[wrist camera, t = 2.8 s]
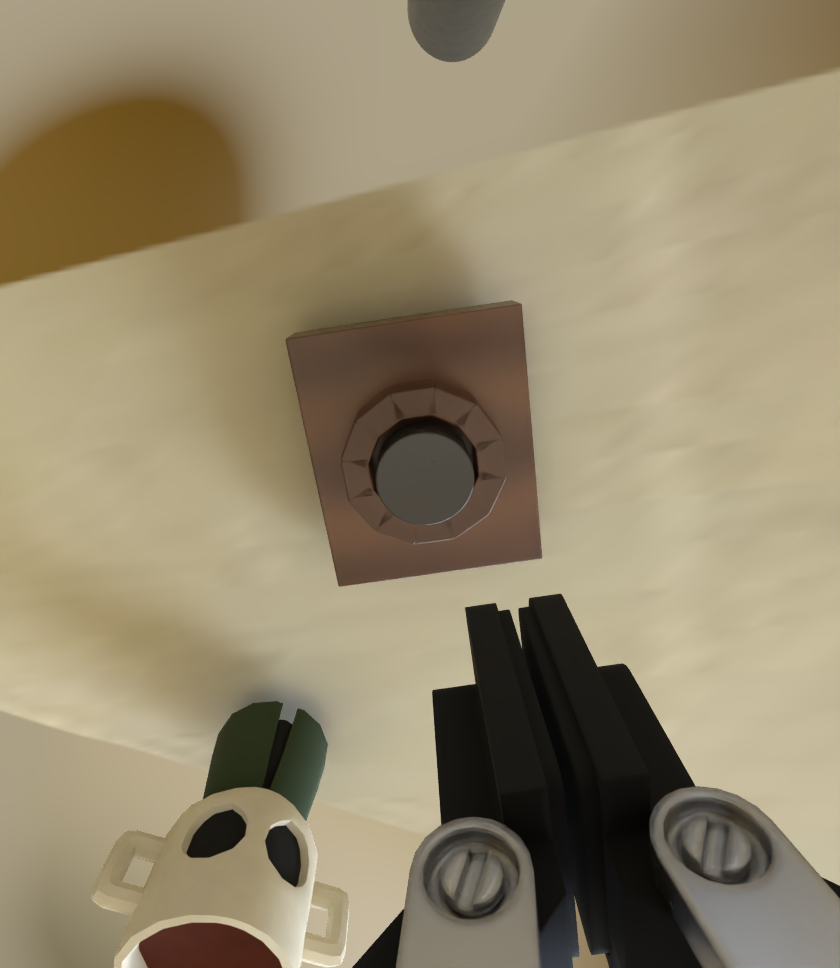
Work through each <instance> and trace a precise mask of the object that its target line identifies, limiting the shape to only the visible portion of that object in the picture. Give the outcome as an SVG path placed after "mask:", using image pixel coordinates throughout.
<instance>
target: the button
mask: <svg viewBox="0 0 840 968" xmlns="http://www.w3.org/2000/svg"><path fill="white" fill-rule="evenodd" d="M473 487H474V469H473V465H472V462H471V459H470V456H469V453H468V450H467V448H466V446H465V444H464V442H463V441H462V440H461V438H460V437H459V436H458V435H457V434H456V433H455V432H453V431H452V430H451V429H449V428H447V427H445V426H443V425H440V424H437V423H433V422H416V423H411V424H408V425H405V426H403V427H401V428H399V429H398V430H396V431H395V432H394V433H393V434H391V435H390V436H389V438H388V439H387V440H386V441H385V443H384V444H383V446H382V448H381V450H380V453H379V456H378V462H377V469H376V488H377V492H378V494H379V497H380V499H381V501H382V503H383V504H384V505H385V507H386V508H387V509H388V510H389V511H390V512H391V513H392V514H393V515H395V516H396V517H398V518H400V519H401V520H404V521H406V522H409V523H412V524H418V525H432V524H437V523H440V522H443V521H446V520H448V519H450V518H451V517H453V516H454V515H456V514H457V513H458V512H459V511H460V510H461V509H462V508H463V507H464V506H465V505H466V503H467V502H468V500H469V498H470V496H471V494H472V491H473Z"/></svg>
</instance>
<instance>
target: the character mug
mask: <svg viewBox="0 0 840 968" xmlns="http://www.w3.org/2000/svg"><path fill="white" fill-rule="evenodd" d="M282 705H283V703H280V702H277V701H275V702H262V703H253V704H251V705H249V706H247V707H245V708H243V709H241V710H239V711H237V712H235V713H233V714H232V715H231V717H230V718H229V719H228V721H227V722H226V724H225V725H224V727H223V728H222V730H221V731H220V732H219V734H218V737H217V741H216V745H215V748H214V752H213V755H212V759H211V764H210V769H209V774H208V778H207V783H206V788H205V792H204V797H203V800H201V801H199V802H197V803H195V804H193V805H192V806H191V807H189V808H188V809H187V810H186V811H185V812H184V813H183V814H182V815H181V816H180V818H179V819H178V820H177V822H176V823H175V824H174V826H173V827H172V828H171V830H170V831H169V833H168V834H167V836H166V838H162V837H158V836H155V835H151V834H147V833H144V832H141V831H127V832H125V833H124V834H123V835H122V836H121V837H120V838H119V839H118V840H117V841H116V843H115V845H114V847H113V849H112V850H111V852H110V855H109V856H108V858H107V860H106V862H105V864H104V866H103V868H102V870H101V872H100V873H99V875H98V878H97V879H96V882H95V883H94V885H93V889H92V895H91V898H92V900H93V902H95V903H96V904H97V905H99V906H100V907H102V908H104V909H108V910H112V911H116V912H119V913H123V914H127V915H131V919H130V921H129V923H128V925H127V928H126V930H125V932H124V935H123V937H122V939H121V941H120V944H119V947H118V950H117V953H116V955H115V958H114V968H300V966H301V961H304V962H308V963H311V964H315V965H319V966H323V967H334V966H338V965H341V963H342V961H343V958H344V956H345V951H346V939H347V928H348V918H349V900H348V895H347V893H346V892H344V891H342V890H341V889H339V888H336V887H333V886H329V885H326V884H323V883H319V882H315V881H314V880H315V872H316V864H317V856H318V854H317V850H316V846H315V843H314V839H313V836H312V833H311V829H310V826H309V825H308V823H307V822H306V820H307V817H308V814H309V811H310V808H311V806H312V803H313V800H314V798H315V795H316V792H317V789H318V786H319V783H320V779H321V776H322V773H323V769H324V765H325V759H326V752H327V746H328V744H327V741H326V739H325V736H324V734H323V731H322V729H321V726H320V724H319V723H317V722H316V721H315V720H314V719H313V718H312V717H311V716H310V715H309V714H308V713H306V712H305V711H304V710H301V709H298V710H297V713H296V716H295V719H294V722H293V725H292V724H291V723H289V722H288V721H286V720H279V717H280V713H281V709H282ZM133 858H138V859H142V860H145V861H149V862H152V863H155V864H154V866H153V868H152V871H151V873H150V875H149V877H148V880H147V882H146V884H145V886H144V888H142V887H138V886H135V885H131V884H127V883H124V882H122V880H123V878H124V876H125V874H126V872H127V869H128V867H129V865H130V863H131V861H132V859H133ZM310 907H313V908H317V909H320V910H324V911H326V912H328V920H327V929H326V937H325V938H324V937H321V936H318V935H314V934H310V933H307V932H305V931H306V926H307V921H308V916H309V911H310Z"/></svg>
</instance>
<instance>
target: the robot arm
mask: <svg viewBox="0 0 840 968" xmlns="http://www.w3.org/2000/svg"><path fill="white" fill-rule="evenodd" d="M465 611H466V618H467V625H468V632H469V640H470V647H471V654H472V661H473V668H474V675H475V682H476V684H473V685H466V686H459V687H452V688H445V689H438V690H433V692H432V695H433V711H434V725H435V740H436V754H437V768H438V783H439V797H440V812H441V826H439V827H438V828H437V829H435V830H434V831H433V832H432V833H430V834H429V835H428V836H427V837H426V838H425V839H424V841H423V842H422V843H421V845H420V846H419V848H418V849H417V851H416V852H415V855H414V858H413V862H412V865H411V868H410V873H409V880H408V887H407V894H406V901H405V908H404V909H403V910H402V912H401V913H400V914H399V915H398V916H397V917H396V918H395V919H394V921H393V922H392V923H391V924H390V925H389V926H388V927H387V928H386V930H385V931H384V932H383V933H382V934H381V935H380V937H379V938H378V939H377V940H376V941H375V942H374V943H373V944H372V946H371V947H370V948H369V949H368V950H367V951H366V952H365V954H364V955H363V956H362V957H361V958H360V959H359V961H358V962H357V963H356V964H355V965H354V966H353V967H352V968H573V962H572V958H573V957H579V945H578V934H577V922H576V911H575V899H576V903H577V907H578V911H579V914H580V918H581V922H582V925H583V929H584V933H585V936H586V940H587V943H588V947H589V950H590V952H591V954H592V955H595V954H604V953H605V955H606V958H607V961H608V964H609V968H840V886H839V885H837V884H835V883H833V882H830V881H828V880H826V879H824V878H822V877H821V876H820V875H819V874H818V873H817V872H816V871H815V869H814V868H813V867H812V866H811V865H810V864H809V862H808V861H807V860H806V859H805V858H804V857H803V856H802V854H801V853H800V852H799V851H798V850H797V849H796V847H795V846H794V845H793V844H792V843H791V842H790V841H789V839H788V838H787V837H786V836H785V835H784V834H783V832H782V831H781V830H780V829H779V828H778V827H777V826H776V824H775V823H774V822H773V821H772V820H771V819H770V818H769V817H768V816H767V815H765V814H764V813H763V812H762V811H761V810H760V809H759V808H758V807H757V806H755V805H753V804H752V803H750V802H748V801H746V800H745V799H743V798H741V797H740V796H738V795H735V794H732V793H729V792H726V791H723V790H720V789H716V788H708V787H699V786H697V787H696V786H695V785H694V783H693V781H692V779H691V778H690V776H689V774H688V772H687V770H686V769H685V767H684V765H683V763H682V762H681V760H680V758H679V756H678V755H677V753H676V751H675V749H674V747H673V746H672V744H671V742H670V740H669V739H668V737H667V735H666V733H665V732H664V730H663V728H662V726H661V725H660V723H659V721H658V719H657V717H656V716H655V714H654V712H653V710H652V709H651V707H650V705H649V703H648V702H647V700H646V698H645V696H644V694H643V693H642V691H641V689H640V687H639V686H638V684H637V682H636V680H635V679H634V677H633V675H632V673H631V672H630V670H629V669H628V667H627V666H626V665H624V664H616V665H608V666H601V667H597V665H596V663H595V661H594V659H593V657H592V655H591V653H590V651H589V649H588V647H587V645H586V643H585V641H584V639H583V637H582V635H581V633H580V631H579V629H578V626H577V624H576V622H575V620H574V618H573V616H572V614H571V612H570V610H569V608H568V606H567V604H566V602H565V600H564V598H563V596H562V595H561V594H555V595H548V596H541V597H534V598H529V607H524V608H519V622H520V632H521V641H522V648H521V644H520V641H519V638H518V635H517V632H516V629H515V625H514V622H513V619H512V616H511V613H510V610H503V611H498V608H497V605H496V603H493V604H486V605H479V606H472V607H465ZM522 650H523V651H522ZM574 896H575V899H574Z"/></svg>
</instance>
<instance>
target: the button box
mask: <svg viewBox="0 0 840 968" xmlns="http://www.w3.org/2000/svg"><path fill="white" fill-rule="evenodd" d="M286 344H287V349H288V354H289V358H290V363H291V368H292V372H293V377H294V381H295V386H296V391H297V395H298V400H299V405H300V409H301V414H302V419H303V423H304V428H305V432H306V437H307V442H308V446H309V451H310V456H311V460H312V465H313V469H314V474H315V479H316V483H317V488H318V493H319V497H320V502H321V507H322V511H323V516H324V520H325V525H326V530H327V534H328V539H329V544H330V548H331V553H332V557H333V562H334V567H335V571H336V576H337V581H338V585H339V587H341V586H348V585H355V584H362V583H369V582H377V581H384V580H391V579H398V578H406V577H413V576H420V575H427V574H434V573H442V572H449V571H456V570H463V569H470V568H478V567H485V566H492V565H499V564H506V563H514V562H521V561H528V560H535V559H541V558H542V549H541V537H540V525H539V512H538V500H537V487H536V475H535V463H534V450H533V438H532V426H531V413H530V401H529V389H528V376H527V364H526V352H525V339H524V327H523V315H522V305H521V304H520V303H517V302H515V301H512V300H511V301H505V302H498V303H491V304H485V305H478V306H471V307H465V308H458V309H451V310H445V311H438V312H431V313H425V314H418V315H411V316H405V317H398V318H391V319H385V320H378V321H371V322H365V323H358V324H351V325H345V326H338V327H331V328H325V329H318V330H311V331H305V332H298V333H294V334H293V335H291V336H290V337H288V338H287V339H286ZM416 422H433V423H437V424H440V425H443V426H445V427H447V428H449V429H451V430H452V431H453V432H455V433H456V434H457V435H458V436H459V437H460V438H461V440H462V441H463V442H464V444H465V446H466V448H467V450H468V453H469V456H470V459H471V462H472V465H473V469H474V487H473V491H472V494H471V496H470V498H469V500H468V502H467V503H466V505H465V506H464V507H463V508H462V509H461V510H460V511H459V512H458V513H457V514H456V515H454V516H453V517H451V518H450V519H448V520H446V521H443V522H440V523H437V524H432V525H418V524H412V523H409V522H406V521H404V520H401V519H400V518H398V517H396V516H395V515H393V514H392V513H391V512H390V511H389V510H388V509H387V508H386V507H385V505H384V504H383V503H382V501H381V499H380V497H379V494H378V492H377V488H376V469H377V462H378V456H379V453H380V450H381V448H382V446H383V444H384V443H385V441H386V440H387V439H388V438H389V436H390V435H391V434H393V433H394V432H395V431H396V430H398V429H399V428H401V427H403V426H405V425H408V424H411V423H416Z"/></svg>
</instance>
